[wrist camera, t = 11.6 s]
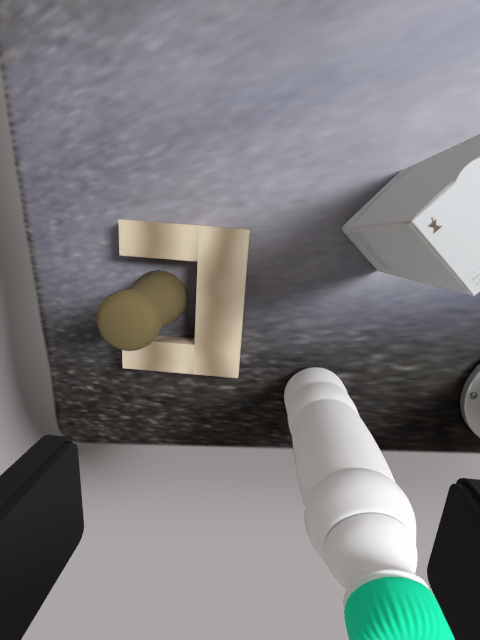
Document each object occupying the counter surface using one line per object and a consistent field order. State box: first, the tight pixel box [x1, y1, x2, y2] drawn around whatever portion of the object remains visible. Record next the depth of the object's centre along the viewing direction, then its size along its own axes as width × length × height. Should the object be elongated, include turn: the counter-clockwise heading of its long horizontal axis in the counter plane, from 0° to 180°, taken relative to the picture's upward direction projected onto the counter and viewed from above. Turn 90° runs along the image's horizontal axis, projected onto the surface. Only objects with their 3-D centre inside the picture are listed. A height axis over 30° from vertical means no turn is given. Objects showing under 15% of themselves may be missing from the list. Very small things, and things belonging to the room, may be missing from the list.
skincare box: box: [341, 134, 480, 296], centre depth 26 cm, size 8×7×16 cm
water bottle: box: [284, 367, 454, 640], centre depth 27 cm, size 7×7×25 cm
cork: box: [97, 270, 187, 351], centre depth 31 cm, size 6×6×11 cm
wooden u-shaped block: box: [118, 219, 250, 378], centre depth 35 cm, size 13×16×2 cm
